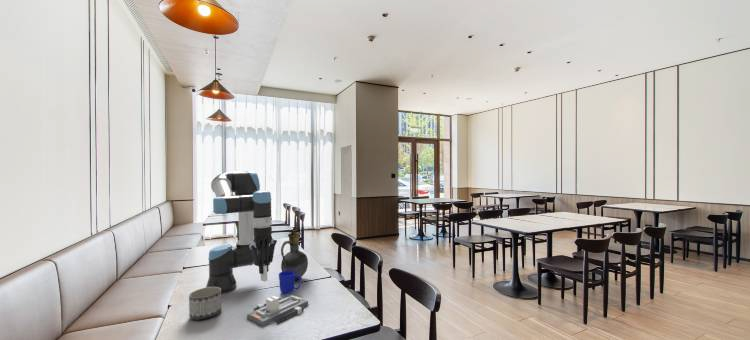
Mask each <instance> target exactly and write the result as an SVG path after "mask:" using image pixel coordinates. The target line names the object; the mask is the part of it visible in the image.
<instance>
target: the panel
mask: <svg viewBox="0 0 750 340" xmlns="http://www.w3.org/2000/svg"><path fill="white" fill-rule="evenodd" d="M280 299H281V298H280ZM308 305H309V300H307V299H305V298H303V297H300V296H296V295H293V294H292V295H289V296H285V298H282V299H281V300H279V309H277V310H274V311H272V312H270V311H268V310H266V306H265V307H262V308H260V309H258V310H255V311H254V310H253V311H251V312H248V313H247V314H246V315H247V316H246V319H247V320H250V321H251V322H253V323H256V324H257V325H259V326H261V327H264V326H267V325H269V324H271V323H273V322H276V319H277V318H279V317H281V316H283V315H285V314H287V313H290V312H292V311H294V308H295V307H297V306H298V307H303V308H304V307H307V306H308Z"/></svg>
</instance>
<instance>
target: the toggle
mask: <svg viewBox="0 0 750 340" xmlns="http://www.w3.org/2000/svg"><path fill="white" fill-rule="evenodd" d="M279 298H280V297H278V296H276V295H272V296H270V297H267V298H265V304H266V310H268V311H270V312H272V311H274V310H277V309H279Z"/></svg>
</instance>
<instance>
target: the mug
mask: <svg viewBox="0 0 750 340" xmlns="http://www.w3.org/2000/svg"><path fill="white" fill-rule="evenodd" d="M295 276H298V277H299V281H298V286H297V287H296V286H295V282H294V281H295ZM278 279H279V289H280V294H284V295H286V294H290V293H293V292H294V291H295V290H299V289H300V287H301V281H302V279H301V275H295V272H294V271H283V272H282V271H281V272H279V273H278Z"/></svg>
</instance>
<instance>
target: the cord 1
mask: <svg viewBox="0 0 750 340" xmlns="http://www.w3.org/2000/svg"><path fill="white" fill-rule="evenodd" d="M278 298H279V300H281V297H278ZM265 306H266V303H264V304H263V303H259V304H257V305H256V307H255V308H254V309H253V311H255V310H258V309H260V308H262V307H265Z"/></svg>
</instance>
